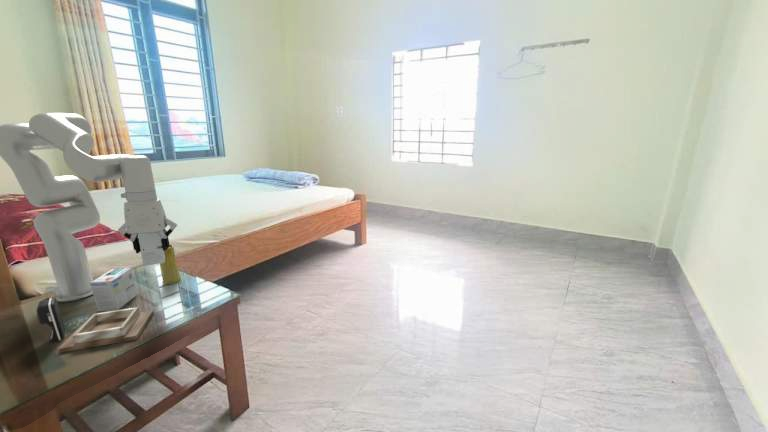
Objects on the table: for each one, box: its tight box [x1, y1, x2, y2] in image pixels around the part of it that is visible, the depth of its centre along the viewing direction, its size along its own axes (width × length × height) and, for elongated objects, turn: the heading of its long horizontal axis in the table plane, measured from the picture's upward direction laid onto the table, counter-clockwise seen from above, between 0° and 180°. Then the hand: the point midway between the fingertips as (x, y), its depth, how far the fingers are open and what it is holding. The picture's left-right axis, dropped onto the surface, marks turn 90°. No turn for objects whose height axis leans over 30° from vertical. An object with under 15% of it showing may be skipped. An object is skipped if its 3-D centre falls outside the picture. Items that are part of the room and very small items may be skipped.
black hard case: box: [36, 297, 66, 343], centre depth 95 cm, size 7×4×11 cm, turn 40°
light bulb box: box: [90, 267, 138, 312], centre depth 113 cm, size 11×7×11 cm, turn 6°
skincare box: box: [138, 232, 165, 267], centre depth 107 cm, size 6×4×12 cm
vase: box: [159, 244, 182, 285], centre depth 128 cm, size 6×6×14 cm
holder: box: [57, 306, 154, 353], centre depth 98 cm, size 18×14×4 cm
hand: (152, 250), depth 108 cm, fingers closed on skincare box, 6 cm apart
